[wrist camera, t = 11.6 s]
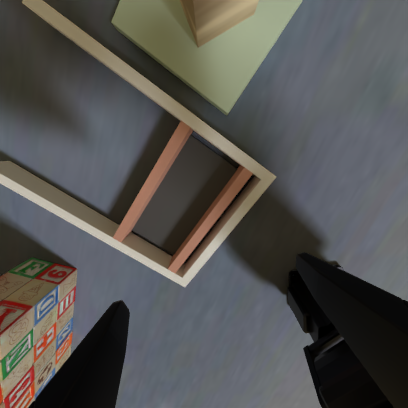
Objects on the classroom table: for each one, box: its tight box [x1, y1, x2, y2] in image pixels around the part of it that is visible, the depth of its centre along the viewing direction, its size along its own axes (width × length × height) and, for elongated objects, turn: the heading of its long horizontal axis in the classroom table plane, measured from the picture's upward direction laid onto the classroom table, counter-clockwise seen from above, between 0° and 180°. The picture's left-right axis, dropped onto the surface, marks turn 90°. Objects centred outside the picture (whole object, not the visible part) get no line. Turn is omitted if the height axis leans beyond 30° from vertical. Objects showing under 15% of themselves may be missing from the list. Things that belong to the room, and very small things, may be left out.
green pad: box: [111, 0, 303, 116], centre depth 14 cm, size 12×12×1 cm
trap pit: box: [113, 121, 253, 273], centre depth 18 cm, size 8×14×2 cm, turn 145°
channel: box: [0, 0, 276, 287], centre depth 17 cm, size 24×16×2 cm, turn 55°
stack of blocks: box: [0, 258, 77, 408], centre depth 20 cm, size 21×6×12 cm, turn 164°
